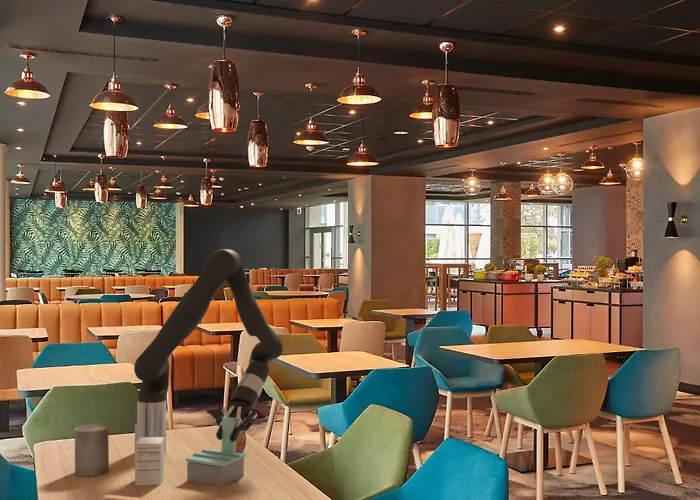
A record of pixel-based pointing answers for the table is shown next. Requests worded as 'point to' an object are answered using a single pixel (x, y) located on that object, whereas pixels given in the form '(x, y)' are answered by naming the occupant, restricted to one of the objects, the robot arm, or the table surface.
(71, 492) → the table surface
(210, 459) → the lid
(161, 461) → the supplement box
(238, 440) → the tin
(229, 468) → the tub
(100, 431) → the pillar candle
